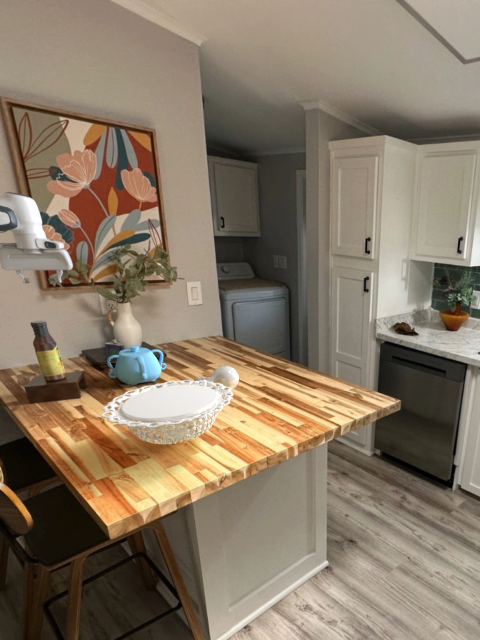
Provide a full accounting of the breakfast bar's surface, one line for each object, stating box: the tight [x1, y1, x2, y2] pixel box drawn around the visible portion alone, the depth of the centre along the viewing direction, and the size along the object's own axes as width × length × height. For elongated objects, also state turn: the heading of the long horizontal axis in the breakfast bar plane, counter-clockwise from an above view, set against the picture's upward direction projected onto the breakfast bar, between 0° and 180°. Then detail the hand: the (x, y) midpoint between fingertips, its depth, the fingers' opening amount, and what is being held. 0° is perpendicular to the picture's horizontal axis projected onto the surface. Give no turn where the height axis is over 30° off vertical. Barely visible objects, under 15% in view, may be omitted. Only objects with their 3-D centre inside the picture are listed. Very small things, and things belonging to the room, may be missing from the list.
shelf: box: [23, 370, 88, 405], centre depth 142 cm, size 14×12×6 cm
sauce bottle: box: [29, 320, 66, 381], centre depth 137 cm, size 6×6×20 cm
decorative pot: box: [106, 345, 167, 386], centre depth 156 cm, size 16×16×14 cm
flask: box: [104, 338, 126, 359], centre depth 173 cm, size 9×3×11 cm, turn 74°
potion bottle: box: [193, 365, 240, 391], centre depth 149 cm, size 9×10×15 cm
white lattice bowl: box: [100, 379, 235, 446], centre depth 113 cm, size 32×32×13 cm
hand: (43, 282), depth 150 cm, fingers open, 8 cm apart
